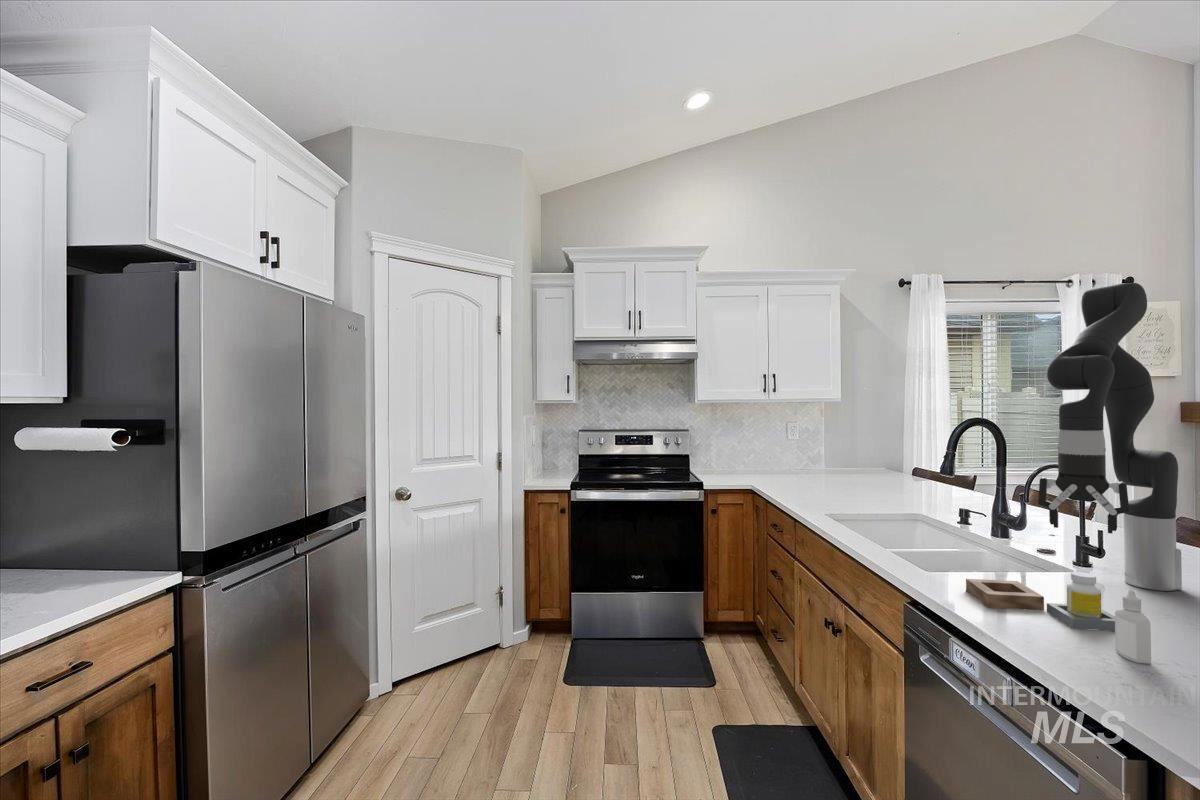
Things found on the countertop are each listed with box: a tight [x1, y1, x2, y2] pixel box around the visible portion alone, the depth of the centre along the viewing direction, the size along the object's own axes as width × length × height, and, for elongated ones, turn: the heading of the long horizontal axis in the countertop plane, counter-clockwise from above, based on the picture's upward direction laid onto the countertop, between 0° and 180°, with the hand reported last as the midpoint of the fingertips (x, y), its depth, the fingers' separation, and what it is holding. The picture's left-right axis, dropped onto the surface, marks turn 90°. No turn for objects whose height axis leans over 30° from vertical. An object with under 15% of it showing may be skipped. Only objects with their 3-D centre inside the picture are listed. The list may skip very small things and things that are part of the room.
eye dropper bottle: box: [1114, 589, 1152, 665], centre depth 101 cm, size 4×6×12 cm
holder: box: [1046, 602, 1115, 632], centre depth 117 cm, size 9×9×2 cm
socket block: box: [965, 578, 1045, 612], centre depth 130 cm, size 11×11×3 cm
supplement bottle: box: [1066, 571, 1102, 618], centre depth 117 cm, size 5×5×10 cm
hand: (1082, 529), depth 117 cm, fingers open, 8 cm apart
